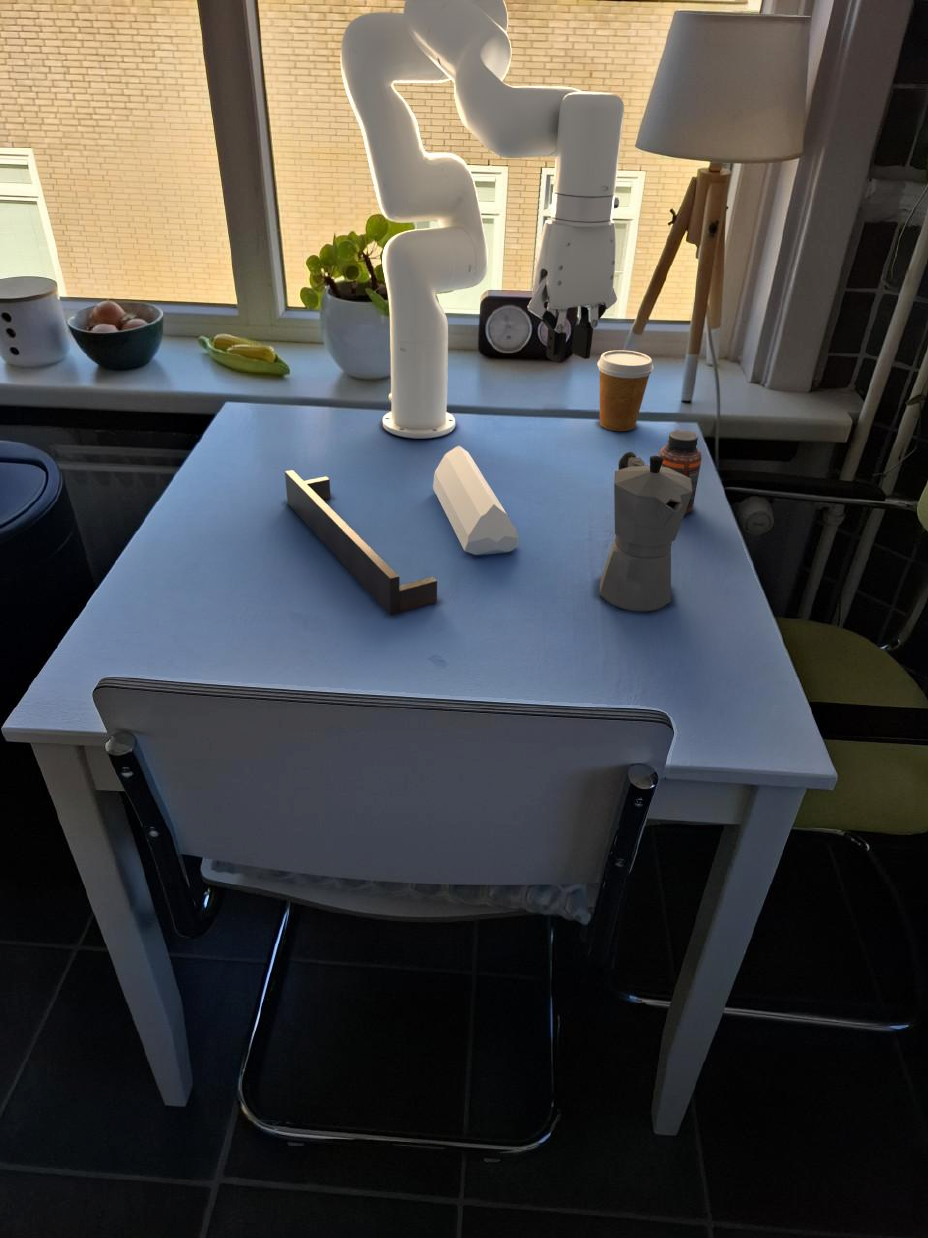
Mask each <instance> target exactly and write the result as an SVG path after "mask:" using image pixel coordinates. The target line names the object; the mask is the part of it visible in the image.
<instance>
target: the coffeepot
mask: <svg viewBox="0 0 928 1238" xmlns="http://www.w3.org/2000/svg"><path fill="white" fill-rule="evenodd" d="M663 460H664V459H663V458H662V457H660V456H659V455H650V456H649V465H647V464H646V465H645V463H646V462H645V461H644V460H643V459H642V458H641V457H640V456H639V457H638V456H637V455H636V453H635V452H632V451H627V452H625V453H624V454H623V455H622V457H620V458H619V460H618V469H617V470H615V471H614V476H613V477H614V478H613V488H614V489H613V492H614V493H613V494H614V495H613V497H614V498H613V499H614V502H613V503H614V504H613V505H614V534H615V536H614V539H613V540H612V544H611V546H610V550H609V553H608V555H607V558H606V562H605V564H604V568H603V570H602V573H601V576H600V581H599V595H600V596H601V597H602V598H603V600H605V601H606V602H608V603H609V604H611V605H613V606H614V607H617V608H619V609H622V610H626V611H630V612H631V611H632V612H639V613H640V612H641V613H642V612H643V613H645V612H653V611H657V610H660V609H662V608H664V607H666V606H667V605H668V604H670V603H671V602H672V543H673V542H674V541H676V539H677V536H678V534H679V530H680V528H681V526H682V522H683V520H684V517H685V515H686V514H685V511H686V509H687V506H688V503H689V500H690V497H691V495H692V484H691V478H689V477H687V476H685V475H683V474H680V473H678V472H676V471H674V470H672V469H670V468H667V467H661V466H662V463H663Z"/></svg>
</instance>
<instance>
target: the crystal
mask: <svg viewBox="0 0 928 1238" xmlns="http://www.w3.org/2000/svg"><path fill="white" fill-rule="evenodd" d="M433 475H434V476H433V483H432V489H433V492H434V493H435V495H436V497H437V499H438V501H439V503H440V505H441V507H442V509H443V511H444V514H445V515H446V517H447V519H448V521H449V524H450V525H451V527H452V530H453V531H454V533H455V535H456V537H457V539H458V541H459V544H460V545H461V548H462V549H463V552H466V553H469V554H471V555H474V556H484V555H485V556H487V555H497V554H506V553H510V552H511V551H513V550H515V549H517V548H518V547H519V546H520V542H519V541H520V540H519V538H520V537H519V534H518V531H517V529H516V528H515V526H514V524H513V522H512V520H511V519H510V517H509V515H508V513H507V512H506V511H505V509H504V507H503V505H502V504H501V502H500V501H499V499H498V498H497V495H496V494H495V493H494V491H493V490H492V488H491V487H490V484H489V483H488V482H487V480H486V478H485V477H484V475H483V473H482V472H481V471H480V469H479V467H478V466H477V464H476V462H475V461H474V459H473V457H472V456H471V454H470V453H469V451H468V450H466V449H465V448H463V447H462V446H460V445H456V446H455V447H454V448H452V449H451V450H449V451H447V452H446V453H445V454H444V455H443V457H442V459H441V460H440V462H439V463H438V466H436V469H435V470H434V474H433Z"/></svg>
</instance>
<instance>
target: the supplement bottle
mask: <svg viewBox="0 0 928 1238" xmlns="http://www.w3.org/2000/svg"><path fill="white" fill-rule="evenodd" d="M698 441H699V435H698V434H697V433H696V432H693V431H691V430H686V429H677V430H676V429H674V430H672V431H670V432H669V434H668V440H667V444H665V445H663V446H662V447H661V448H660V451H659V455H658V456H660V457H662V458H663V459H664V460H663V463H662V466H661V467H667V468H670V469H672V470H674V471H676V472H678V473H680V474H683V475H685V476H687V477H689V478H691V484H692V495H691V497H690V500H689V503H688V506H687V509H686V511H685V514H684V515H686V514H688V513H690V512H691V511H692V510H693V508H694V503H695V498H696V493H697V487H698V483H699V482H698V481H699V476H700V470H701V464H702V459H703V457H702V456H703V455H702V452H701V450H700V449H699V448H698Z"/></svg>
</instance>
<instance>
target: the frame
mask: <svg viewBox="0 0 928 1238" xmlns="http://www.w3.org/2000/svg"><path fill="white" fill-rule="evenodd" d="M284 478H285V489H286V490H285V491H286V500H287V501H286V502H287V504H288V506H289V507H290V508H291V509H292V510H293V512H295V513H296V514H297V515H298V516H299V518H301V520H302V521H303V522H304V523H305V524H306V525H307V526H308V528H310V529H311V530H312V532H313V533H314V534H315V535H316V536H317V537H318V538H319V539H320V540H321V542H322V543H324V544H325V546H326V547H327V548H328V549H329V550H330V551H331V552H332V553H333V554H334V556H335V557H337V559H338V560H339V561H340V562H341V563H342V564H343V565H344V566H345V567H346V569H347V570H348V571H349V572H350V573H351V574H352V575H353V576H354V577H355V578H356V579H357V581H358V582H359V583H360V584H361V585H362V586H363V587H364V588H365V589H366V590H367V591H368V592H369V594H370V595H371V596H372V597H373V598H374V599H375V601H376V602H377V603H379V605H380V606H381V607H382V608H384V610H385V611H386V612H387V613H388V614H389V615H390V616H394V615H397V614H401V613H404V612H407V611H412V610H414V609H418V608H421V607H425V606H428V605H431V604H432V605H433V604H436V603H438V580H437V579H436V578H435V577H434V576H429V577H427V578H423V579H420V580H415V581H411V582H408V583H405V584H400V576H399V574H398V573H396V572H395V570H393V568H392V567H390V565H389V564H387V562H385V561H384V559H383V558H381V556H380V555H379V554H377V552H376V551H374V550H373V548H371V546H370V545H368V543H366V541H364V540H363V539H362V538H361V536H360V535H358V533H356V531H355V530H354V529H352V528H351V526H349V524H348V523H346V522H345V520H344V519H342V518H341V516H339V514H337V512H335V510H333V508H331V506H330V505H328V503H326V501H325V500H328V499H331V483H330V481H331V479H330V478H329V477H328V476H322V477H316V478H311V479H307V480H304V479H302V477H300V475H298V474H297V472H295V470H293V469H291V470H286V471H284Z"/></svg>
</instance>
